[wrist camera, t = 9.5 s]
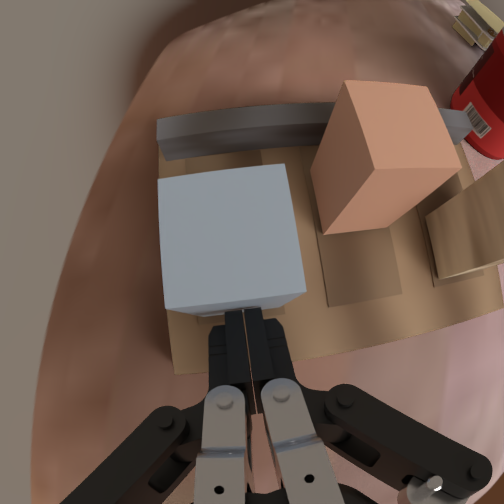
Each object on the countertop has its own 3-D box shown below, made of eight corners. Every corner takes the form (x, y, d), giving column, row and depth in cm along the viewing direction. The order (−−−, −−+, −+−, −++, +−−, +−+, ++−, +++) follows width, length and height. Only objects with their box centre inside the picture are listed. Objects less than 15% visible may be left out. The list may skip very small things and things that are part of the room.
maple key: (468, 212, 18) (545, 163, 10) (482, 269, 17) (568, 239, 10) (425, 216, 18) (504, 160, 10) (438, 279, 17) (530, 249, 9)
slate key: (268, 233, 18) (284, 163, 10) (279, 307, 17) (306, 291, 9) (195, 242, 17) (157, 179, 10) (203, 316, 17) (165, 308, 9)
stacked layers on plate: (428, 20, 27) (443, -10, 22) (460, 17, 28) (474, -8, 23) (485, 77, 25) (508, 49, 20) (510, 67, 26) (529, 44, 21)
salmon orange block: (370, 166, 19) (426, 86, 11) (386, 227, 18) (462, 167, 10) (309, 170, 19) (344, 80, 11) (323, 234, 18) (374, 169, 10)
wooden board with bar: (434, 121, 23) (459, 91, 18) (487, 310, 19) (527, 304, 15) (165, 134, 22) (150, 95, 17) (181, 370, 18) (162, 382, 14)
